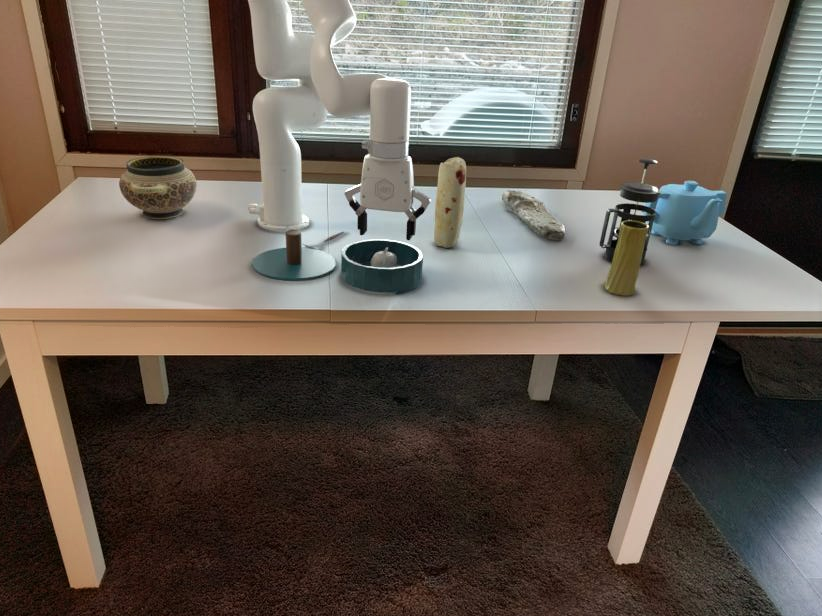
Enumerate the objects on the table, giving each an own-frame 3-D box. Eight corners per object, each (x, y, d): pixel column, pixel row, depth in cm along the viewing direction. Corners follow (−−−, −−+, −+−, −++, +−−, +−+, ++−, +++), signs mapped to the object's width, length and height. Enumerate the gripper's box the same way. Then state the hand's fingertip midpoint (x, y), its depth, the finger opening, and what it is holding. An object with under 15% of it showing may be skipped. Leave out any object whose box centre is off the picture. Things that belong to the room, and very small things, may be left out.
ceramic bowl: (152, 208, 175) (130, 152, 168) (215, 194, 174) (195, 138, 166) (121, 240, 154) (93, 178, 146) (192, 225, 153) (168, 161, 145)
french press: (638, 252, 156) (662, 155, 145) (654, 267, 148) (681, 165, 137) (590, 251, 155) (611, 153, 144) (604, 266, 147) (627, 163, 136)
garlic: (384, 265, 140) (385, 242, 137) (402, 272, 137) (404, 249, 134) (364, 272, 136) (364, 248, 134) (382, 280, 133) (383, 256, 130)
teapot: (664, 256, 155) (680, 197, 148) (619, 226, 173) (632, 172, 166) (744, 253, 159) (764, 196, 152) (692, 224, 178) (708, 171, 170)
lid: (238, 277, 132) (235, 241, 128) (271, 247, 147) (269, 215, 143) (321, 288, 129) (320, 252, 125) (345, 257, 144) (346, 224, 140)
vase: (600, 284, 138) (614, 219, 131) (627, 284, 139) (643, 219, 132) (610, 296, 133) (626, 229, 126) (639, 296, 134) (656, 229, 126)
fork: (349, 235, 157) (349, 227, 156) (311, 254, 145) (311, 246, 144) (340, 232, 158) (340, 224, 157) (301, 252, 146) (301, 243, 145)
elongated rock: (535, 246, 160) (572, 248, 162) (540, 226, 157) (578, 228, 159) (492, 197, 188) (524, 199, 190) (496, 179, 185) (528, 181, 188)
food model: (461, 252, 151) (470, 165, 140) (432, 250, 151) (439, 163, 140) (459, 238, 159) (468, 154, 149) (432, 236, 159) (439, 152, 149)
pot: (331, 288, 129) (331, 262, 127) (353, 259, 143) (353, 235, 141) (412, 299, 127) (414, 273, 124) (427, 268, 141) (429, 244, 138)
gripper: (339, 149, 122) (340, 237, 130) (430, 157, 119) (424, 246, 128) (350, 141, 128) (350, 225, 137) (436, 149, 126) (431, 234, 134)
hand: (386, 235), depth 132 cm, fingers open, 9 cm apart
